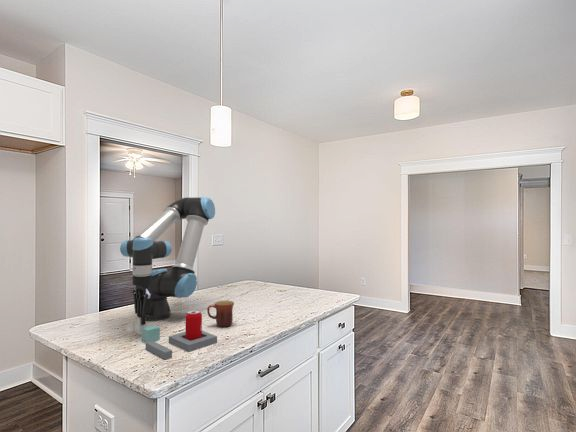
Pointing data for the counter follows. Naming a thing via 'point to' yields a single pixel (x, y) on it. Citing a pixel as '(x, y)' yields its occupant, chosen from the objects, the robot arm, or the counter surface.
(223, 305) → the mug
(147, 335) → the teal cube block
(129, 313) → the counter surface
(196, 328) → the beverage can
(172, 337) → the grey flat pieces
